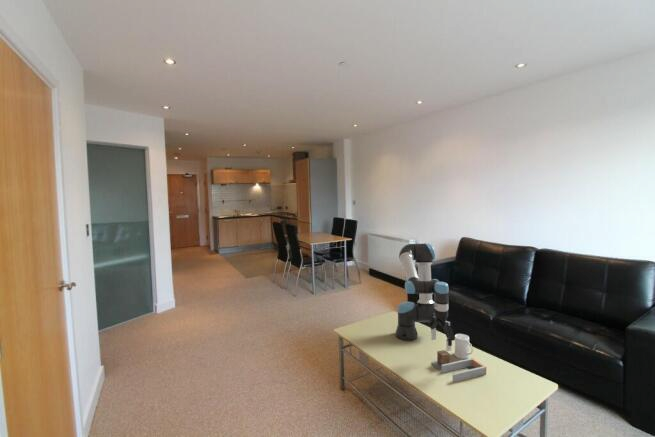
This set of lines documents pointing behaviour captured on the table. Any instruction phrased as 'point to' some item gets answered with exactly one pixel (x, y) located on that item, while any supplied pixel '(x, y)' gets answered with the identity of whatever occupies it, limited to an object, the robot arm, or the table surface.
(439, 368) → the coaster
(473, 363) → the channel
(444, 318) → the robot arm
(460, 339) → the mug
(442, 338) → the table surface
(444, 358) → the block
